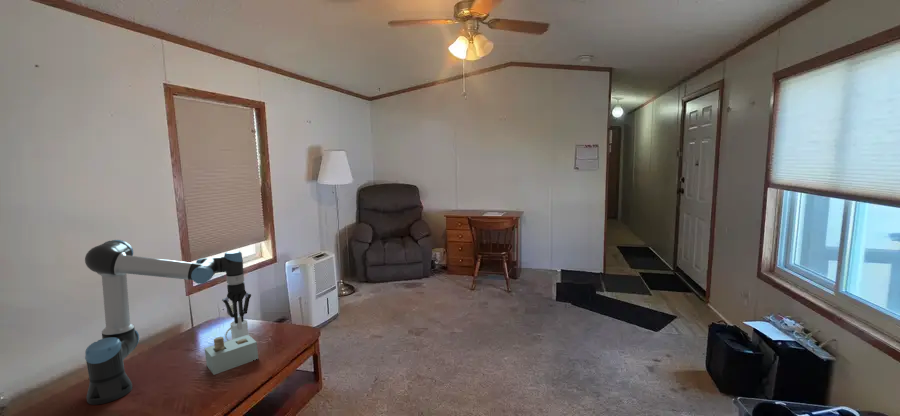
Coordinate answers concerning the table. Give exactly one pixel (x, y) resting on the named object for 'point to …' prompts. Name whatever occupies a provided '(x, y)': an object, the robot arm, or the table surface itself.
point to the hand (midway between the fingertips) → (239, 328)
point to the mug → (236, 332)
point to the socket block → (231, 354)
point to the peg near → (219, 344)
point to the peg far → (241, 341)
